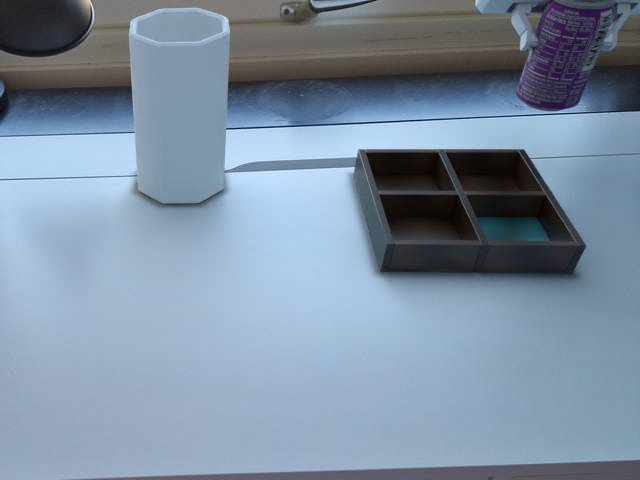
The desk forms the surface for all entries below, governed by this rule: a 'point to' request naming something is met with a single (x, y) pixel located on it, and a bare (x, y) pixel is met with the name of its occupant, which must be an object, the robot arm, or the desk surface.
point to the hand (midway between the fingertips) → (567, 48)
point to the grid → (463, 212)
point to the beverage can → (564, 53)
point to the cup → (180, 102)
